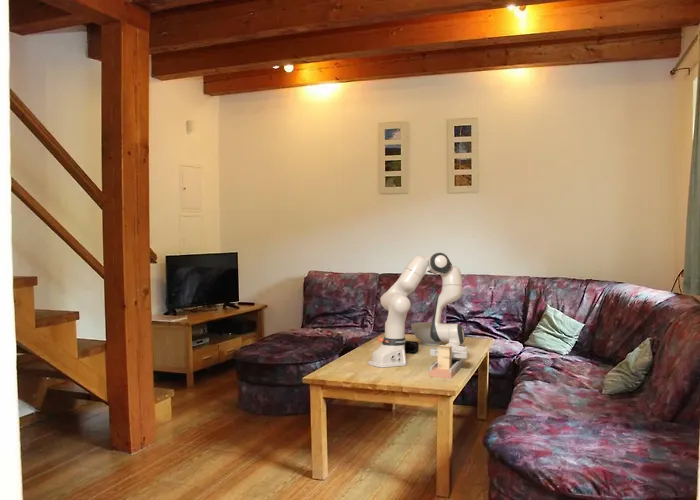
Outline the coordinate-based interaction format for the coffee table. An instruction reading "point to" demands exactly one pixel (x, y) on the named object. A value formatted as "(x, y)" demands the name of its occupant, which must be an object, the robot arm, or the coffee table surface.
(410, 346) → the end cap
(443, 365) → the block
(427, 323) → the decorative bowl
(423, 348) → the coffee table surface
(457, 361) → the lane
